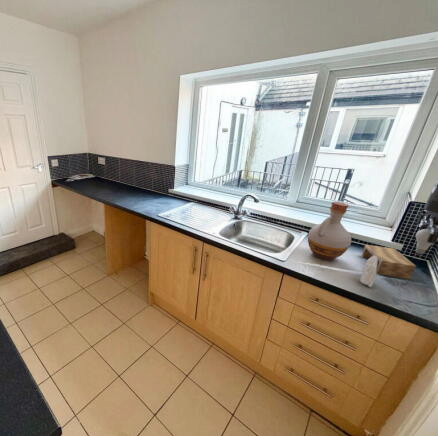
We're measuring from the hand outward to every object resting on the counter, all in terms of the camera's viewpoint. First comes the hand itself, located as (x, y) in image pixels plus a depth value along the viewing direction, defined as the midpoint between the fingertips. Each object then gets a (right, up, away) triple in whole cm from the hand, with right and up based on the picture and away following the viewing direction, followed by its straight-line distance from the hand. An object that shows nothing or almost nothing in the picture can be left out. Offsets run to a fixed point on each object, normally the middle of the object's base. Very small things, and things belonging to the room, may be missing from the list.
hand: (425, 239), depth 98 cm
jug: (-20, -12, +30) cm, 38 cm away
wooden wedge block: (+4, -16, +22) cm, 27 cm away
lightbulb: (0, -6, +2) cm, 7 cm away
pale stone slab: (-14, -19, +11) cm, 26 cm away
